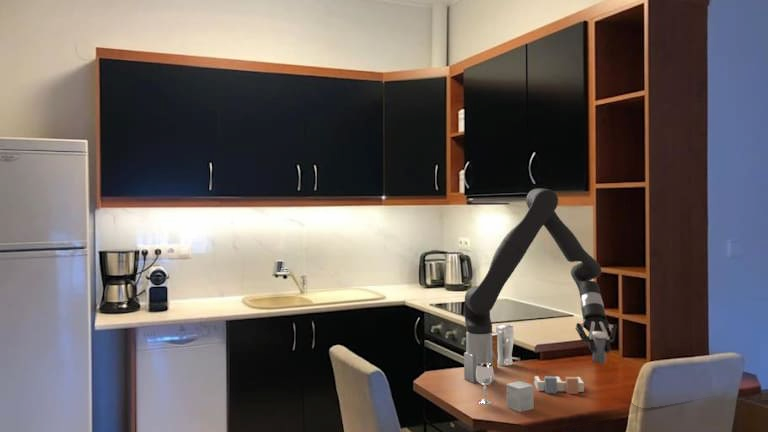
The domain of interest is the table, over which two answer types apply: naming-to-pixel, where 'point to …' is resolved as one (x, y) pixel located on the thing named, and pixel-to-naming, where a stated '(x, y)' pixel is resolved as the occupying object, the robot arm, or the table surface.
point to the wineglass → (484, 378)
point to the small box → (494, 350)
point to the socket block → (559, 384)
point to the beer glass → (505, 344)
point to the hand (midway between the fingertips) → (600, 351)
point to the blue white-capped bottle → (599, 346)
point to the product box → (520, 396)
